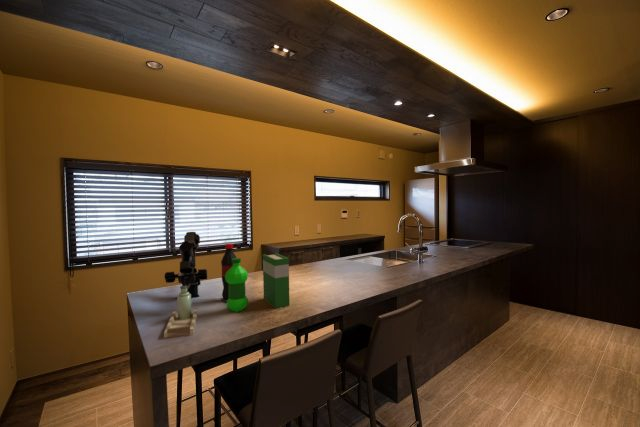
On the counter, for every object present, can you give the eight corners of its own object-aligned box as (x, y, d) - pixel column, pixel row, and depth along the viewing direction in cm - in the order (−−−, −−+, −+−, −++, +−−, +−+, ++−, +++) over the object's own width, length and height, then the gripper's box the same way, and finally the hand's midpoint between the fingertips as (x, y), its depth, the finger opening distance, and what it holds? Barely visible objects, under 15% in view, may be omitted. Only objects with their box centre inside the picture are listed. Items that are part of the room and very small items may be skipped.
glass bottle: (189, 313, 136) (188, 283, 136) (193, 317, 132) (192, 286, 131) (176, 316, 133) (175, 286, 132) (180, 320, 128) (179, 289, 128)
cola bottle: (241, 297, 159) (240, 243, 158) (232, 302, 152) (230, 245, 150) (228, 296, 162) (227, 242, 161) (218, 301, 154) (217, 244, 153)
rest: (173, 316, 134) (173, 308, 134) (198, 313, 138) (197, 306, 138) (164, 339, 112) (163, 330, 112) (193, 335, 115) (193, 326, 115)
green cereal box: (263, 298, 158) (262, 254, 157) (276, 296, 162) (275, 253, 161) (275, 308, 143) (274, 259, 142) (289, 305, 146) (288, 258, 145)
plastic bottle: (225, 308, 144) (223, 257, 143) (246, 305, 148) (245, 256, 147) (227, 315, 135) (225, 261, 134) (250, 311, 139) (249, 259, 138)
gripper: (164, 255, 139) (160, 284, 129) (206, 252, 145) (205, 280, 135) (167, 268, 147) (164, 296, 137) (207, 265, 153) (207, 292, 143)
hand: (185, 291), depth 138 cm, fingers closed
